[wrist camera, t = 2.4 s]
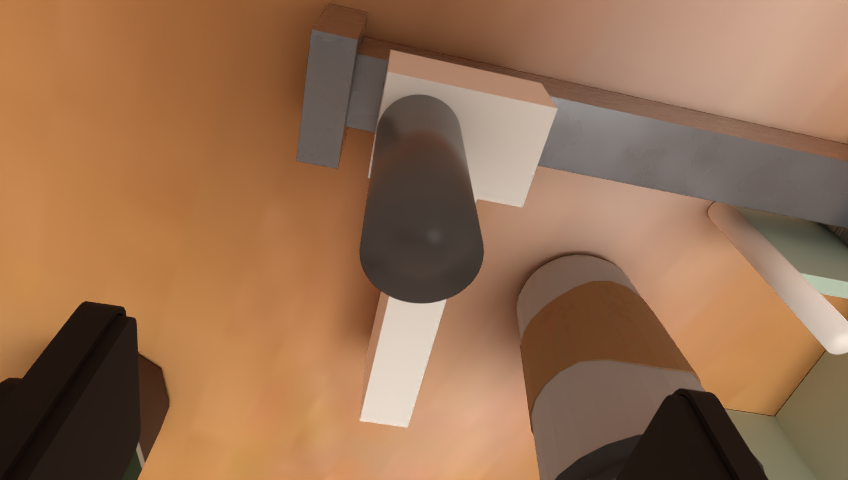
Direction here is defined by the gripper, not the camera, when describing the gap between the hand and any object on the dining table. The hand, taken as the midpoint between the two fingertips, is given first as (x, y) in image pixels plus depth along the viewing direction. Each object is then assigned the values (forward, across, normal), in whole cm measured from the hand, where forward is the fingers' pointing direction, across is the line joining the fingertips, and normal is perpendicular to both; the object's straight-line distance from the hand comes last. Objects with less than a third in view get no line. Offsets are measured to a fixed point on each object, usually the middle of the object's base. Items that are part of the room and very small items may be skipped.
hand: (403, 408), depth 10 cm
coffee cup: (+19, -12, +9) cm, 24 cm away
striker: (+17, -2, +6) cm, 18 cm away
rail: (+18, -10, -1) cm, 21 cm away
